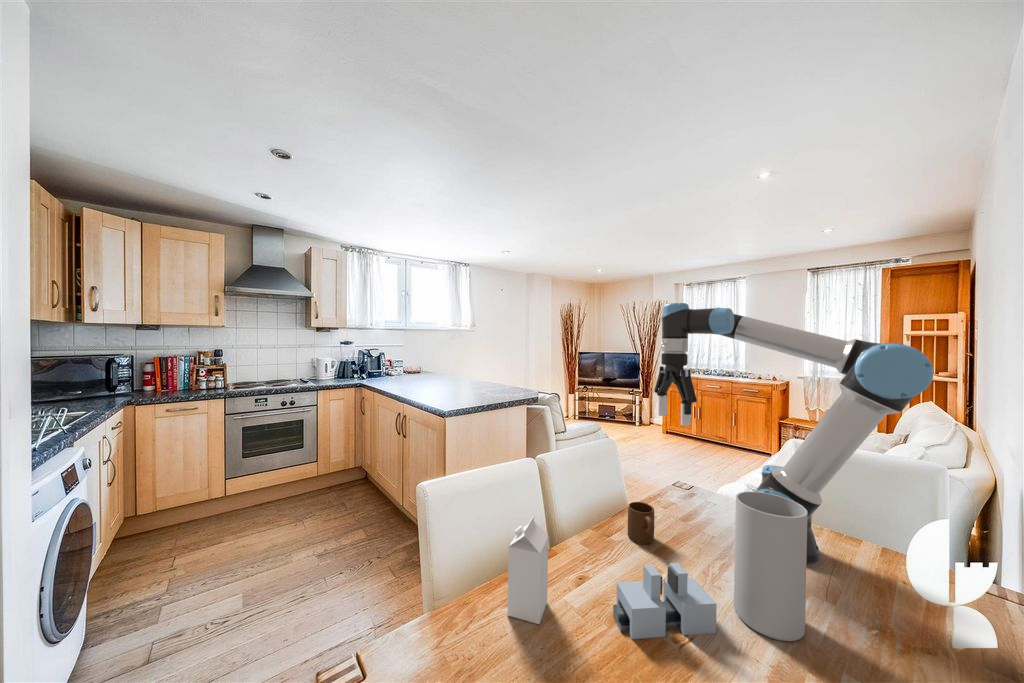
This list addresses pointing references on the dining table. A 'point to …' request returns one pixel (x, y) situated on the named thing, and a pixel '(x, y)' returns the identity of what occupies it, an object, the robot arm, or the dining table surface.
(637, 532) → the mug
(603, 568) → the dining table surface
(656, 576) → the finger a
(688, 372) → the robot arm
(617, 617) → the rail
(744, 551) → the cylinder vase
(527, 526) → the milk carton
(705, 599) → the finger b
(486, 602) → the dining table surface
